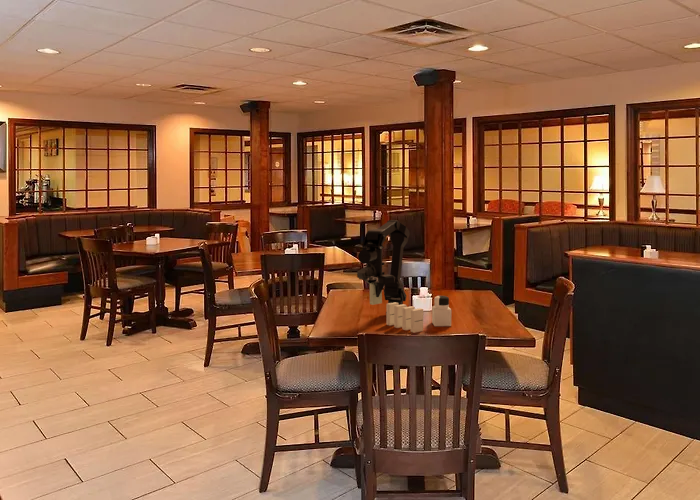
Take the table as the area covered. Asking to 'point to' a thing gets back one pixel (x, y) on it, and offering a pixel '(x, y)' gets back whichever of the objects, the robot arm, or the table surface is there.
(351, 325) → the table surface
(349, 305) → the table surface
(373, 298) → the sage domino
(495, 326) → the table surface
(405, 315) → the domino
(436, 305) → the medicine bottle
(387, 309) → the domino
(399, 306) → the domino
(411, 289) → the table surface
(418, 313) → the domino
